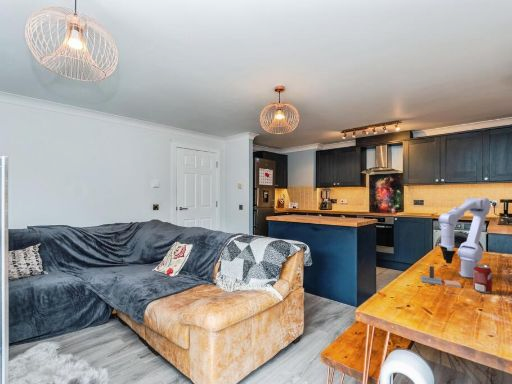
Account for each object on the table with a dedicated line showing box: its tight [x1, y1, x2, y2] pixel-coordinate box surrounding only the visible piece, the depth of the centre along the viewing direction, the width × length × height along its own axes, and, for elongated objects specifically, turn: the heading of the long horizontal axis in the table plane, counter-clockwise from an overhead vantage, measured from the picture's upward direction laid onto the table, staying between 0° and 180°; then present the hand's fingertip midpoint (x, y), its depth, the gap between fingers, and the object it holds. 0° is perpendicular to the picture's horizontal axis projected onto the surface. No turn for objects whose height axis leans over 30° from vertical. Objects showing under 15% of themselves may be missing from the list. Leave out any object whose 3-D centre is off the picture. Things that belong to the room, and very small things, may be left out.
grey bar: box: [422, 265, 442, 282], centre depth 143 cm, size 3×8×7 cm, turn 63°
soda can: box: [472, 264, 493, 294], centre depth 129 cm, size 7×7×12 cm
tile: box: [443, 279, 462, 289], centre depth 137 cm, size 2×6×6 cm
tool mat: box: [419, 275, 443, 286], centre depth 143 cm, size 9×9×1 cm
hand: (447, 261), depth 145 cm, fingers open, 7 cm apart
